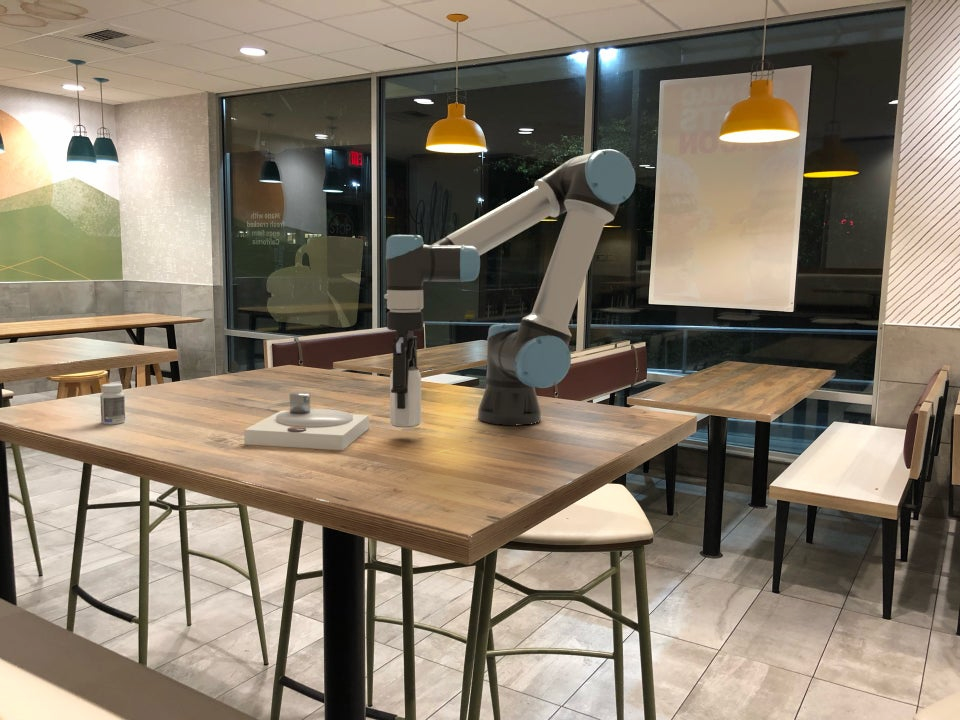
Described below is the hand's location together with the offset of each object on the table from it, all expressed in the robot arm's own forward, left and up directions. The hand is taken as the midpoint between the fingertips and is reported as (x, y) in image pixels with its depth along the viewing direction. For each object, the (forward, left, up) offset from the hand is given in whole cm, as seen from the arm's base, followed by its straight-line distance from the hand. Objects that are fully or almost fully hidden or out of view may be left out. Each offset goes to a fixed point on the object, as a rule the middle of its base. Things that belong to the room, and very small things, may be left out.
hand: (405, 419), depth 157 cm
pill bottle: (+65, +1, -4) cm, 65 cm away
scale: (+20, +2, -4) cm, 20 cm away
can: (0, 0, -1) cm, 1 cm away
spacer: (+24, -3, 0) cm, 24 cm away
